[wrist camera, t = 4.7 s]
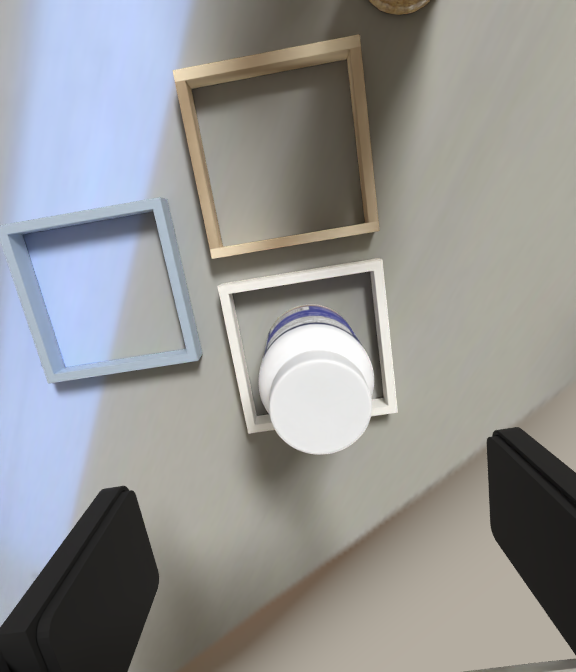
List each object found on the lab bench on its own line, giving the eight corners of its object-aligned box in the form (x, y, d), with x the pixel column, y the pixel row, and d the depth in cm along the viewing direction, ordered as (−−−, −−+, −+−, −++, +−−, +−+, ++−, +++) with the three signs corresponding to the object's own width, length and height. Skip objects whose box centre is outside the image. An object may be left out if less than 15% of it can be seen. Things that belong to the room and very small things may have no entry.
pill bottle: (348, 390, 24) (378, 477, 16) (263, 383, 24) (247, 466, 16) (359, 305, 23) (399, 350, 14) (269, 298, 23) (255, 338, 14)
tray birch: (355, 46, 20) (359, 34, 18) (374, 231, 22) (379, 230, 21) (179, 79, 20) (172, 70, 19) (216, 257, 22) (211, 258, 21)
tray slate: (167, 199, 21) (159, 197, 20) (202, 354, 24) (197, 360, 23) (10, 226, 22) (-6, 226, 21) (59, 376, 24) (48, 383, 23)
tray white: (377, 258, 22) (382, 259, 21) (392, 403, 24) (397, 412, 23) (221, 283, 23) (217, 286, 21) (250, 424, 25) (248, 433, 24)
